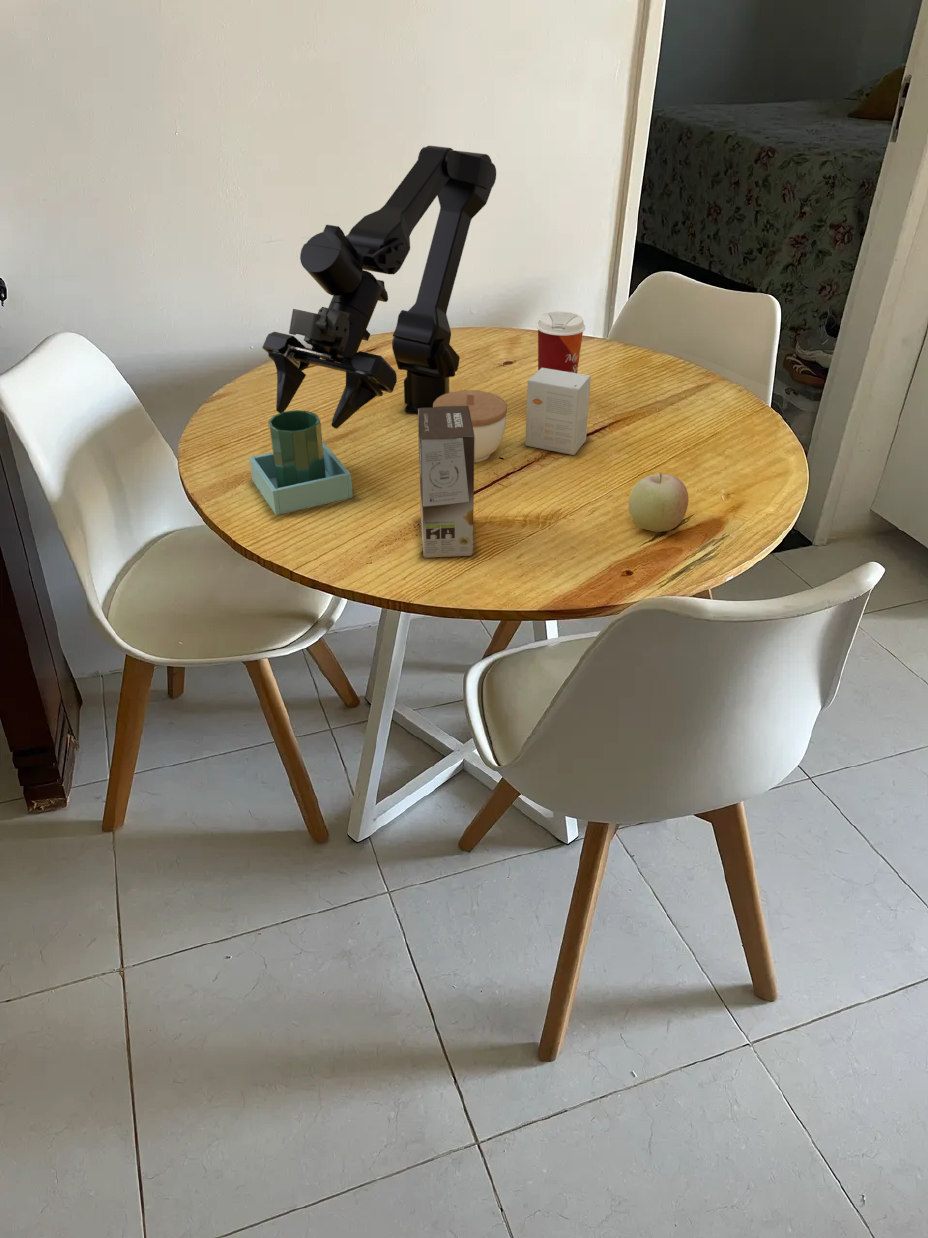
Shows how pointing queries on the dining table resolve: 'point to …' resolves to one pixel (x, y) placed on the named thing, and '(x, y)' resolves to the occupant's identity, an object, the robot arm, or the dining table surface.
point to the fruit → (658, 502)
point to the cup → (296, 447)
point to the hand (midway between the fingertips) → (306, 419)
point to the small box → (557, 410)
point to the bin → (301, 484)
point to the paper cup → (559, 341)
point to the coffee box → (446, 480)
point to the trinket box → (480, 418)
